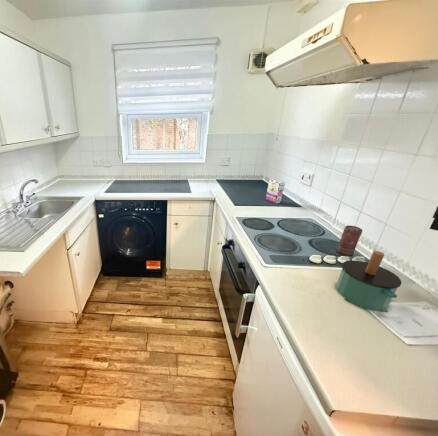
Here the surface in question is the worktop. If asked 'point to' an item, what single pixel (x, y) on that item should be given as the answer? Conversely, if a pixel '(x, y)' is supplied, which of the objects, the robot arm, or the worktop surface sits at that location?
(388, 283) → the lid
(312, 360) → the worktop surface
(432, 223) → the robot arm
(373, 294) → the pot
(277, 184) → the candy bar box
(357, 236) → the can
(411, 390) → the worktop surface
